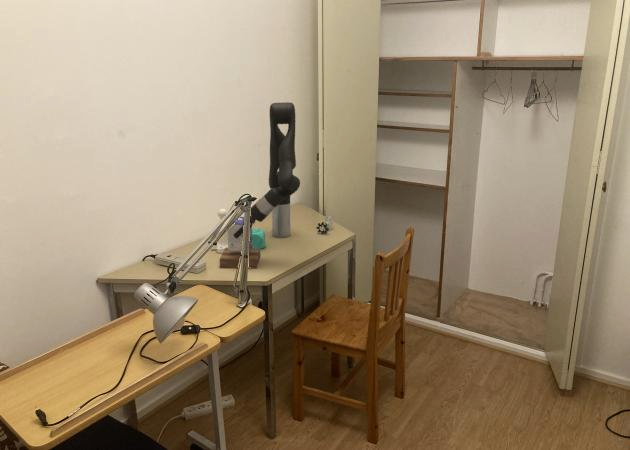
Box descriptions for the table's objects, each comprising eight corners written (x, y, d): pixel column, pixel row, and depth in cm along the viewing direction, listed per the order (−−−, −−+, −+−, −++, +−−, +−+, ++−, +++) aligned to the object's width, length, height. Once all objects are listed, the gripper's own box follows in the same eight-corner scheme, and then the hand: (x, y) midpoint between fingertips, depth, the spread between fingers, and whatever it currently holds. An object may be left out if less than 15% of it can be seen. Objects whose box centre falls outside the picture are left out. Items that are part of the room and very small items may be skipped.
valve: (323, 227, 288) (316, 233, 277) (324, 215, 286) (316, 221, 275) (335, 228, 286) (328, 235, 275) (335, 217, 284) (328, 223, 273)
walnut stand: (225, 256, 244) (225, 248, 243) (260, 256, 244) (260, 248, 243) (219, 267, 231) (219, 259, 229) (257, 268, 231) (256, 259, 229)
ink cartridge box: (253, 247, 237) (252, 216, 233) (249, 252, 232) (248, 220, 227) (232, 246, 239) (230, 215, 234) (227, 250, 234) (226, 218, 229)
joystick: (236, 249, 254) (235, 208, 248) (230, 254, 246) (229, 212, 241) (214, 247, 256) (213, 206, 250) (208, 252, 249) (206, 211, 243)
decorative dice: (246, 249, 253) (246, 233, 251) (248, 244, 261) (248, 228, 258) (263, 249, 253) (263, 233, 251) (265, 244, 261) (264, 228, 258)
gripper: (258, 198, 236) (232, 224, 240) (254, 206, 222) (226, 233, 226) (270, 210, 238) (244, 235, 241) (267, 219, 224) (239, 245, 227)
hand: (236, 234), depth 233 cm, fingers closed on ink cartridge box, 6 cm apart
